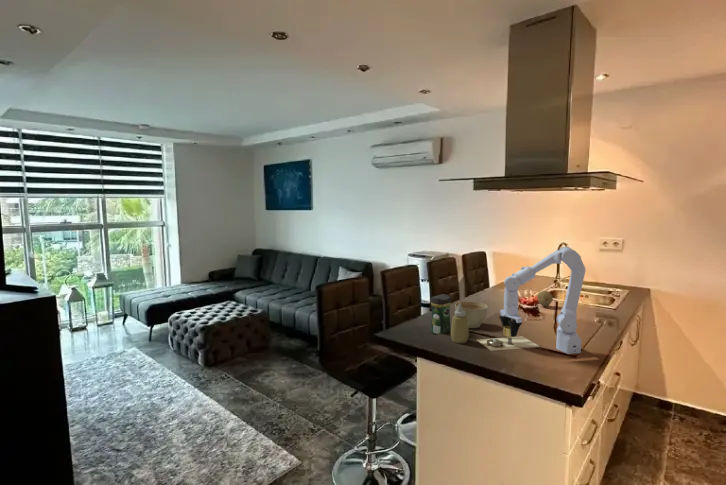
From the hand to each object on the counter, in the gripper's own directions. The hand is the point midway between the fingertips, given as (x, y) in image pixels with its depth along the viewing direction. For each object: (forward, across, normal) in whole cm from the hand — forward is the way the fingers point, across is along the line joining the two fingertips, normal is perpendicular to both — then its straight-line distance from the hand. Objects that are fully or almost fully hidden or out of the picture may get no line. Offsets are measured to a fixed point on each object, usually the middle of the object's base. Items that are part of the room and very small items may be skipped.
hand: (509, 334), depth 177 cm
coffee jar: (+6, -24, -23) cm, 34 cm away
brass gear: (0, 0, 0) cm, 0 cm away
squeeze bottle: (+6, -8, -20) cm, 22 cm away
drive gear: (+4, 0, -7) cm, 8 cm away
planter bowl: (+6, -31, -4) cm, 32 cm away
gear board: (+5, -1, 0) cm, 6 cm away
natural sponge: (+6, -57, +55) cm, 79 cm away
